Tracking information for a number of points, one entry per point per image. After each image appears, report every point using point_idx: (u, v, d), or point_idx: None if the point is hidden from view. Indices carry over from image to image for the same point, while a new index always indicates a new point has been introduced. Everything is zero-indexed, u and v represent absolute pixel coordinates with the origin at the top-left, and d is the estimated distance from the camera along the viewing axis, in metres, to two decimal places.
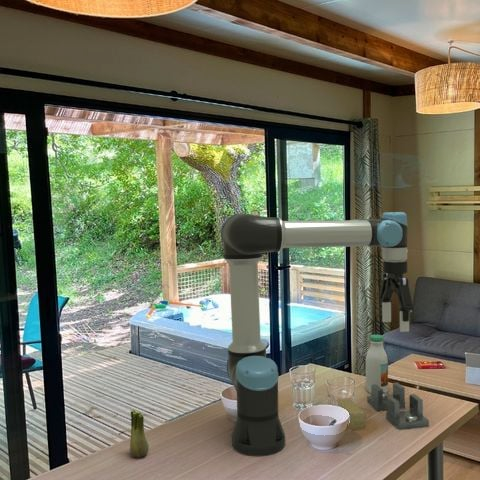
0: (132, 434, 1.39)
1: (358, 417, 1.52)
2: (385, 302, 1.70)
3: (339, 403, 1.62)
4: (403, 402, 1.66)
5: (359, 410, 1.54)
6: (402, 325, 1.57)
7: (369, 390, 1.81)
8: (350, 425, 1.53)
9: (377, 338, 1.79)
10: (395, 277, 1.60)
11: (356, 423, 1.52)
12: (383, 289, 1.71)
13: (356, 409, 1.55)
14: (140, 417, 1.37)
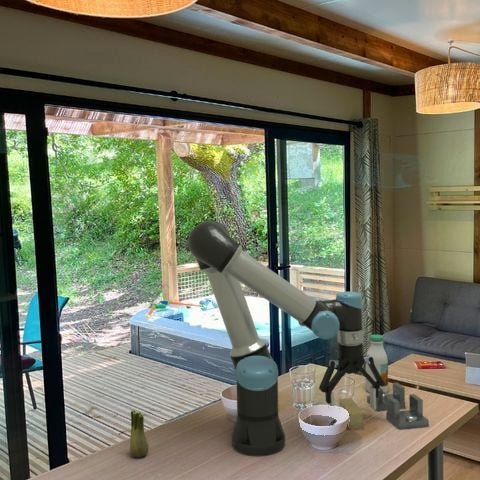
0: (132, 434, 1.39)
1: (357, 417, 1.52)
2: (371, 387, 1.59)
3: (340, 403, 1.62)
4: (403, 402, 1.66)
5: (358, 410, 1.54)
6: None
7: (369, 390, 1.81)
8: None
9: (377, 338, 1.79)
10: None
11: (354, 423, 1.52)
12: (372, 372, 1.59)
13: (355, 409, 1.55)
14: (140, 417, 1.37)
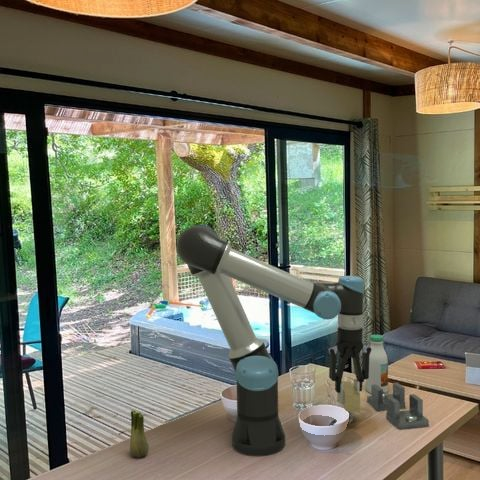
0: (132, 434, 1.39)
1: (353, 399, 1.51)
2: (356, 380, 1.58)
3: None
4: (403, 402, 1.66)
5: (355, 392, 1.53)
6: (338, 395, 1.58)
7: (369, 390, 1.81)
8: (345, 406, 1.53)
9: (377, 338, 1.79)
10: None
11: (351, 404, 1.51)
12: (362, 363, 1.58)
13: (352, 391, 1.54)
14: (140, 417, 1.37)
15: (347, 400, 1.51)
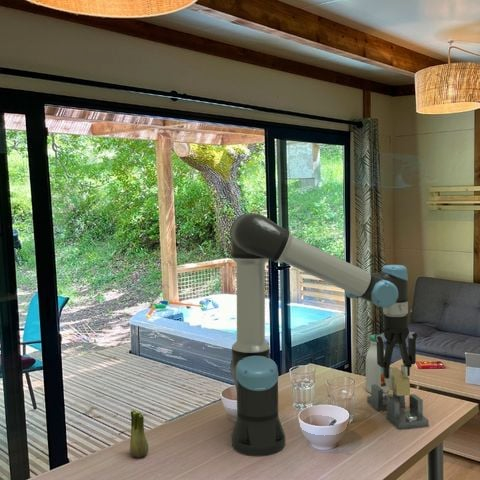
0: (132, 434, 1.39)
1: (403, 383, 1.56)
2: (403, 365, 1.63)
3: None
4: (403, 402, 1.66)
5: (404, 376, 1.58)
6: (386, 381, 1.62)
7: (369, 390, 1.81)
8: (395, 390, 1.57)
9: None
10: None
11: (401, 388, 1.56)
12: (408, 349, 1.63)
13: (401, 376, 1.59)
14: (140, 417, 1.37)
15: (397, 385, 1.56)
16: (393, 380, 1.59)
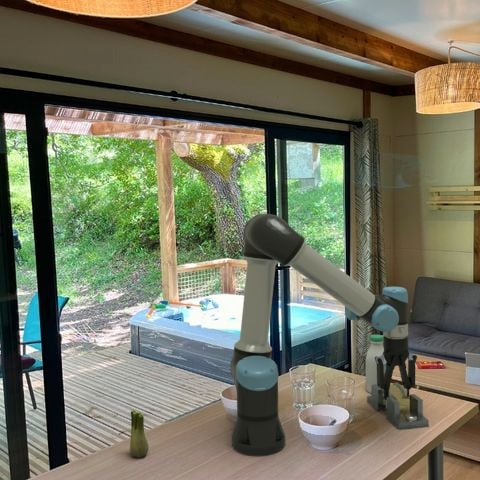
0: (132, 434, 1.39)
1: (403, 402, 1.56)
2: (403, 387, 1.63)
3: None
4: None
5: (404, 396, 1.59)
6: (386, 402, 1.63)
7: (369, 390, 1.81)
8: None
9: (377, 338, 1.79)
10: None
11: (401, 408, 1.56)
12: (408, 371, 1.63)
13: (401, 395, 1.59)
14: (140, 417, 1.37)
15: None
16: None
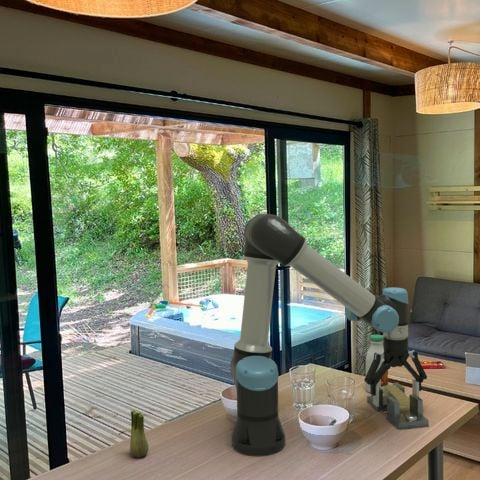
0: (132, 434, 1.39)
1: (403, 402, 1.56)
2: (414, 380, 1.64)
3: (385, 389, 1.67)
4: None
5: (404, 396, 1.59)
6: (373, 398, 1.62)
7: (369, 390, 1.81)
8: None
9: (377, 338, 1.79)
10: None
11: (401, 408, 1.56)
12: (415, 366, 1.64)
13: (401, 395, 1.59)
14: (140, 417, 1.37)
15: None
16: None
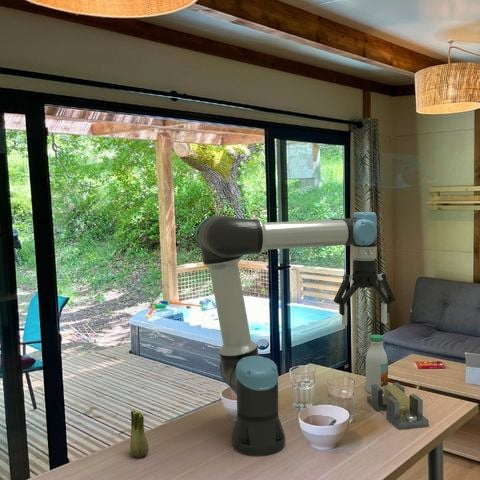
0: (132, 434, 1.39)
1: (403, 402, 1.56)
2: (383, 303, 1.69)
3: (385, 389, 1.67)
4: None
5: (404, 396, 1.59)
6: (342, 318, 1.67)
7: (369, 390, 1.81)
8: None
9: (377, 338, 1.79)
10: None
11: (401, 408, 1.56)
12: None
13: (401, 395, 1.59)
14: (140, 417, 1.37)
15: None
16: None
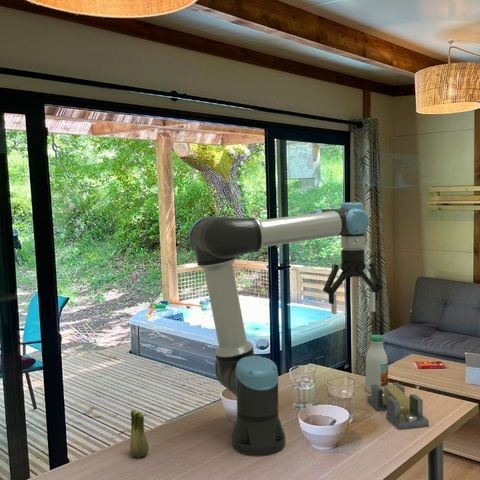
0: (132, 434, 1.39)
1: (403, 402, 1.56)
2: (371, 291, 1.72)
3: (385, 389, 1.67)
4: None
5: (404, 396, 1.59)
6: (332, 307, 1.70)
7: (369, 390, 1.81)
8: None
9: (377, 338, 1.79)
10: None
11: (401, 408, 1.56)
12: (372, 278, 1.72)
13: (401, 395, 1.59)
14: (140, 417, 1.37)
15: None
16: None
